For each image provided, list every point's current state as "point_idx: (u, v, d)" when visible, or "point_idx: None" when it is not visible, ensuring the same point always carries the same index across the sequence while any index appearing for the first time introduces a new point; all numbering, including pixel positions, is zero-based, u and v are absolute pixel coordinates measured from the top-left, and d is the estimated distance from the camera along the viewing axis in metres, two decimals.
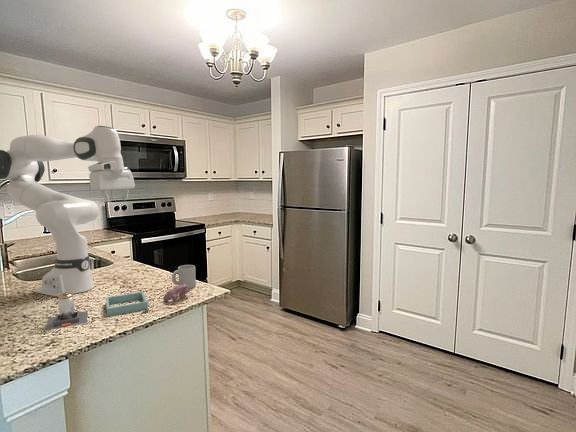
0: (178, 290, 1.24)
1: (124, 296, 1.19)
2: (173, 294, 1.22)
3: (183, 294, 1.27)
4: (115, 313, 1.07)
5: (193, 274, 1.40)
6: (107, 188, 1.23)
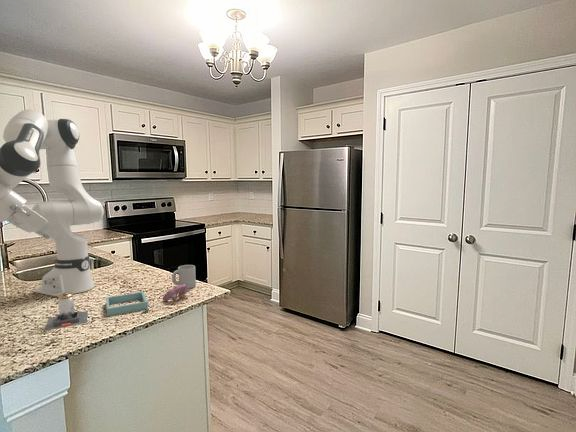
0: (178, 290, 1.24)
1: (124, 296, 1.19)
2: (173, 294, 1.22)
3: (182, 294, 1.27)
4: (115, 313, 1.07)
5: (193, 274, 1.40)
6: (29, 231, 1.01)
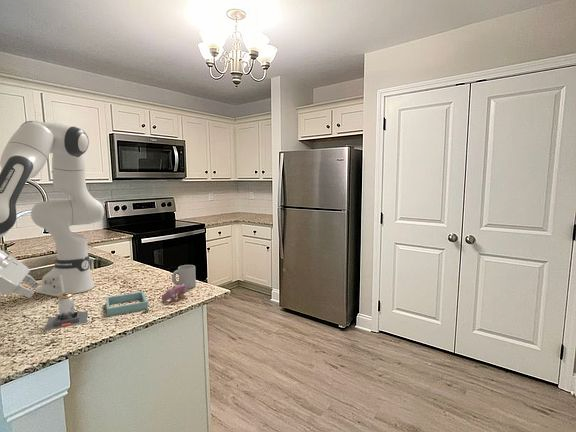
0: (177, 290, 1.24)
1: (124, 296, 1.19)
2: (172, 294, 1.22)
3: (181, 294, 1.27)
4: (115, 313, 1.07)
5: (193, 274, 1.40)
6: None
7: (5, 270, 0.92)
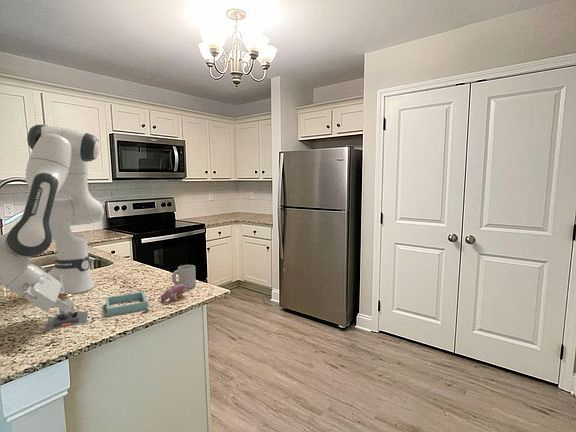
0: (175, 289, 1.24)
1: (124, 296, 1.19)
2: (170, 293, 1.22)
3: (180, 293, 1.28)
4: (115, 313, 1.07)
5: (193, 274, 1.40)
6: None
7: (42, 286, 0.97)
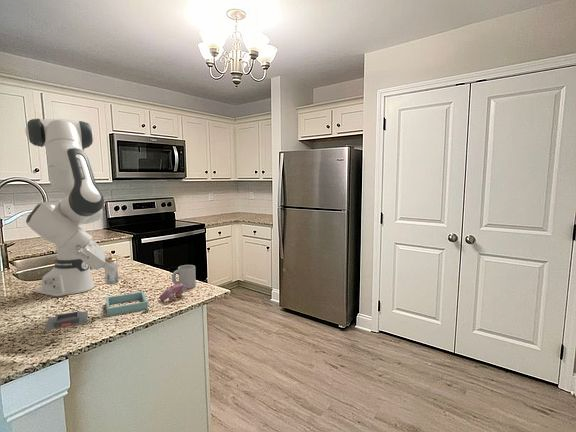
0: (174, 289, 1.24)
1: (124, 296, 1.19)
2: (170, 293, 1.22)
3: (179, 293, 1.28)
4: (115, 313, 1.07)
5: (193, 274, 1.40)
6: None
7: (92, 249, 1.05)
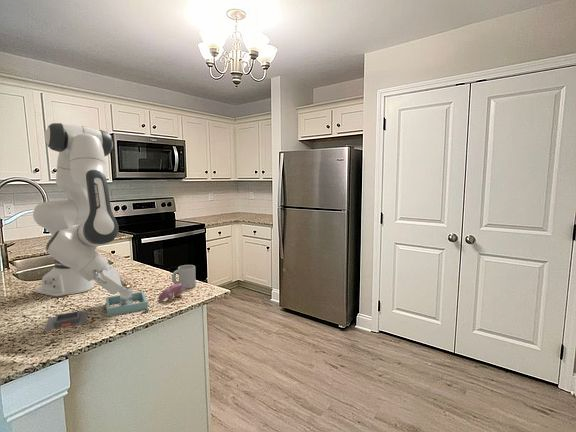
0: (173, 289, 1.25)
1: None
2: (168, 293, 1.23)
3: (178, 293, 1.28)
4: (115, 313, 1.07)
5: (193, 274, 1.40)
6: None
7: (108, 273, 1.08)
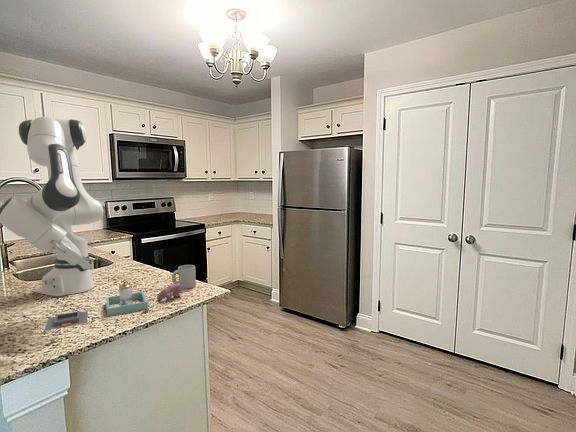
0: (172, 289, 1.25)
1: None
2: (167, 293, 1.23)
3: (177, 293, 1.28)
4: (115, 313, 1.07)
5: (193, 274, 1.40)
6: None
7: (67, 245, 1.02)
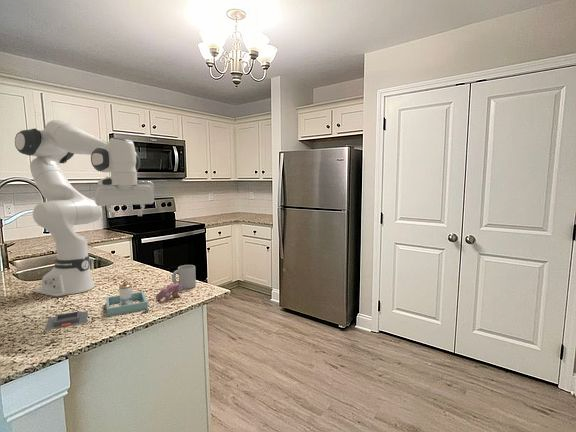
0: (171, 289, 1.25)
1: None
2: (166, 293, 1.23)
3: (176, 293, 1.29)
4: (115, 313, 1.07)
5: (193, 274, 1.40)
6: (108, 204, 1.18)
7: None
